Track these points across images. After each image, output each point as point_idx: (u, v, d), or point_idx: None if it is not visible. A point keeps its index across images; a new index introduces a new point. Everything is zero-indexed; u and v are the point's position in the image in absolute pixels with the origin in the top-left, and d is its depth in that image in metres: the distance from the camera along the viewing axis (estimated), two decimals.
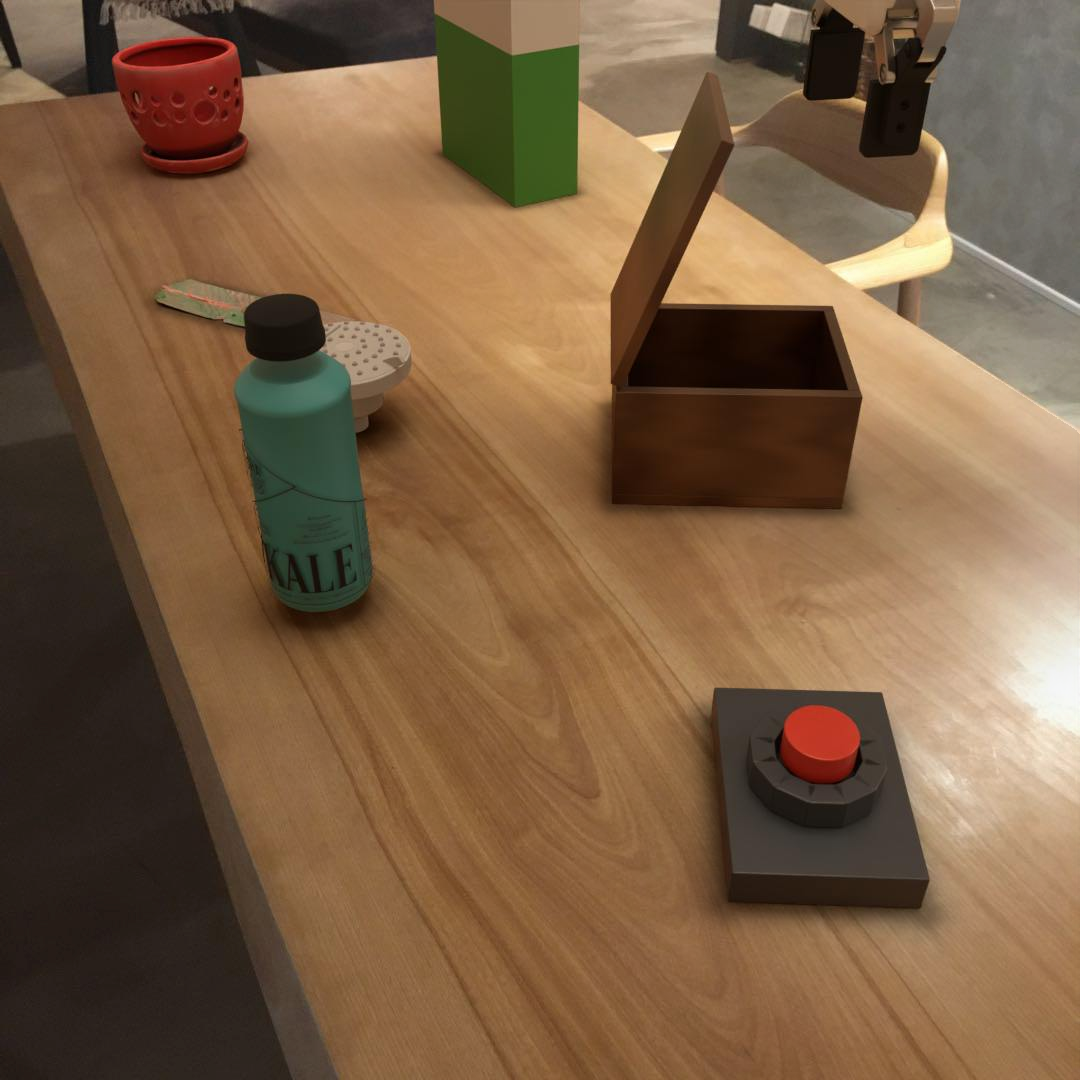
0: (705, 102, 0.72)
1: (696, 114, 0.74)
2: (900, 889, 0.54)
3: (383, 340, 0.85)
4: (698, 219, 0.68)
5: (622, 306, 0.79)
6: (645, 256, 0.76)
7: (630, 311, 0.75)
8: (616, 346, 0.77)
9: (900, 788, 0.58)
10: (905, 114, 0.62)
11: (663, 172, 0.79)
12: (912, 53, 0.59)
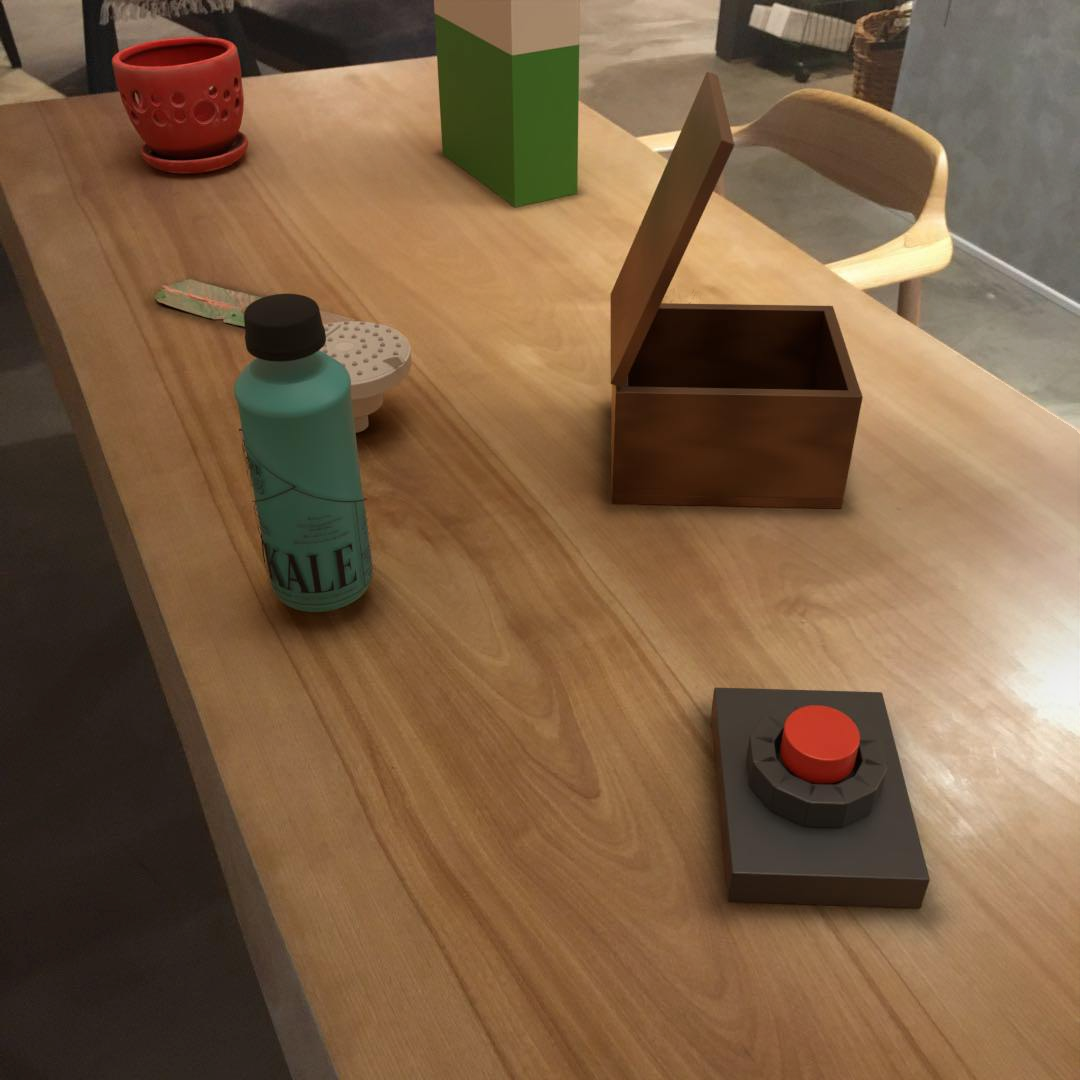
0: (705, 102, 0.72)
1: (696, 114, 0.74)
2: (900, 889, 0.54)
3: (383, 340, 0.85)
4: (698, 219, 0.68)
5: (622, 306, 0.79)
6: (645, 256, 0.76)
7: (630, 311, 0.75)
8: (616, 346, 0.77)
9: (900, 788, 0.58)
10: None
11: (663, 172, 0.79)
12: None
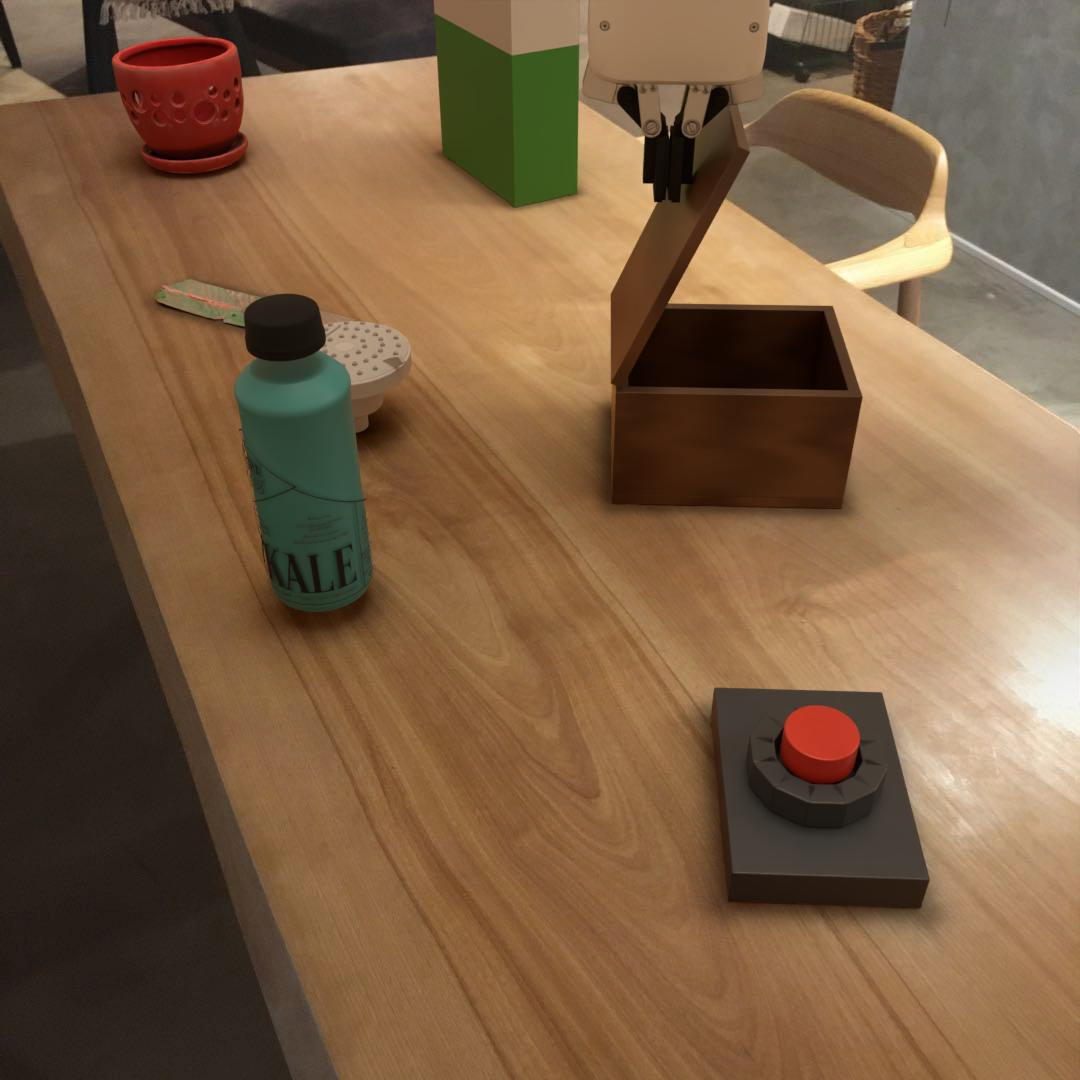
0: None
1: None
2: (900, 889, 0.54)
3: (383, 340, 0.85)
4: (709, 224, 0.68)
5: (624, 306, 0.79)
6: (650, 258, 0.76)
7: (633, 312, 0.75)
8: (617, 346, 0.77)
9: (900, 788, 0.58)
10: None
11: None
12: (725, 100, 0.69)
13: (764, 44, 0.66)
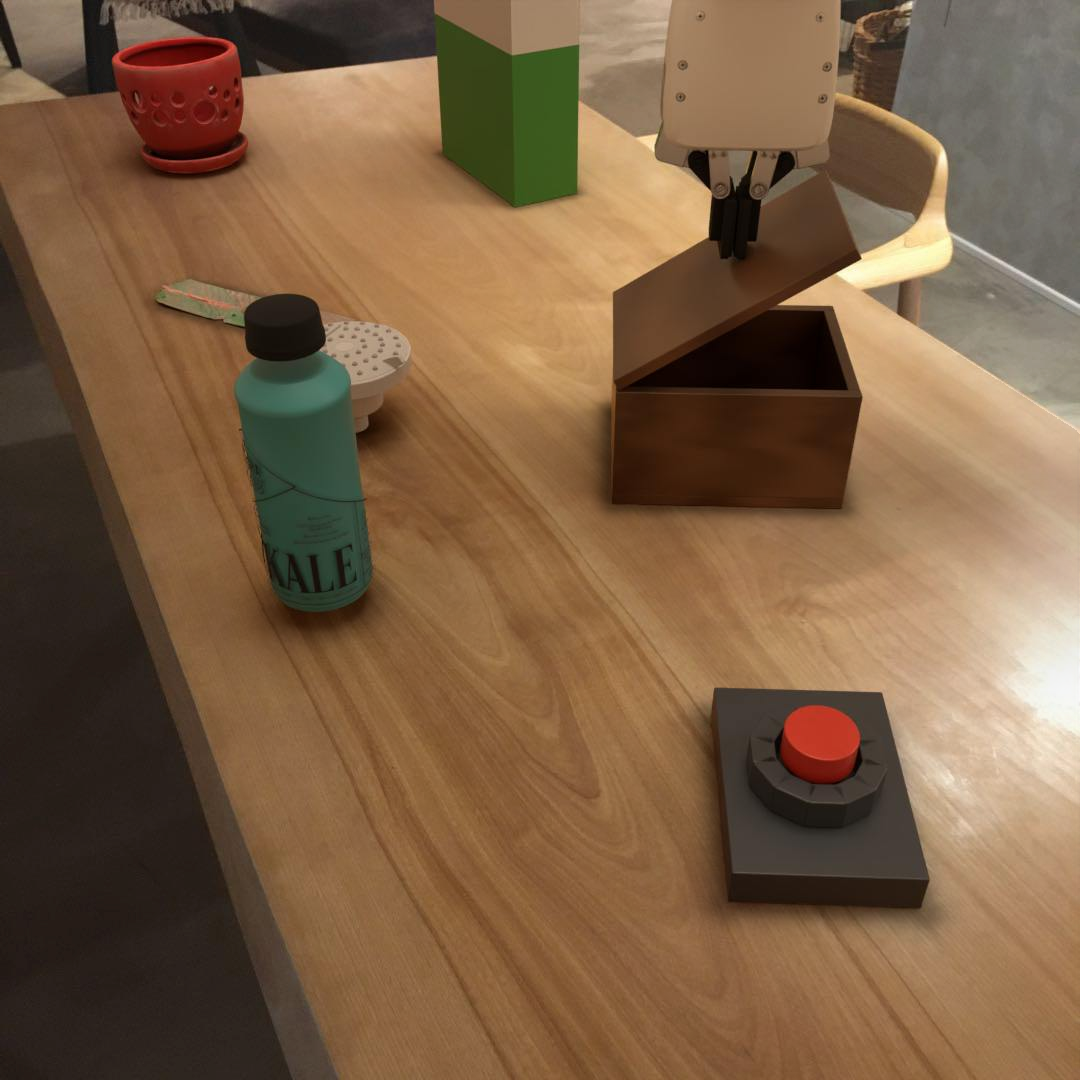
0: (822, 197, 0.76)
1: (803, 200, 0.77)
2: (900, 889, 0.54)
3: (383, 340, 0.85)
4: (789, 297, 0.70)
5: (640, 315, 0.79)
6: (692, 288, 0.77)
7: (659, 328, 0.76)
8: (626, 349, 0.77)
9: (900, 788, 0.58)
10: None
11: None
12: (791, 164, 0.72)
13: (831, 114, 0.69)
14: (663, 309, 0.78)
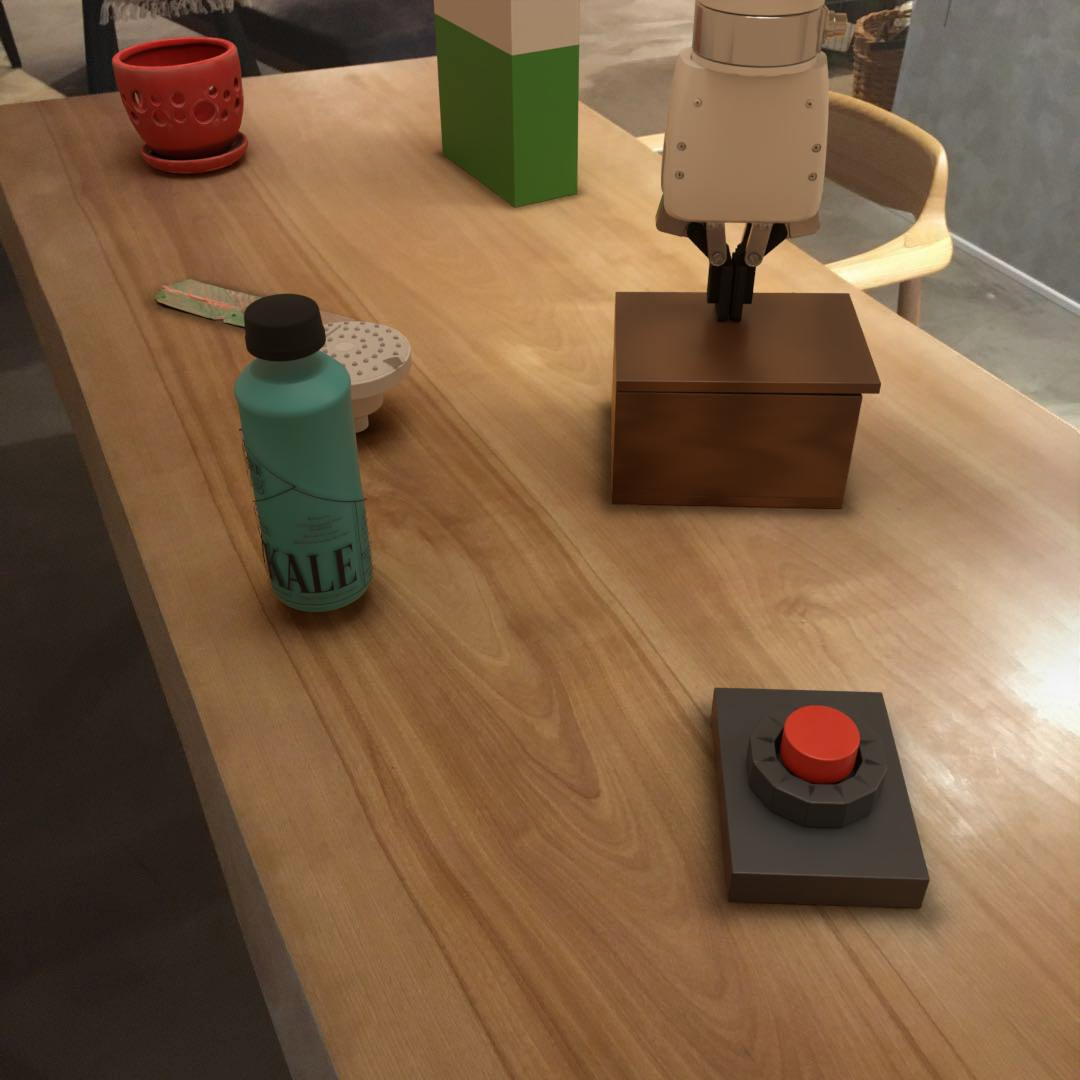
0: (846, 317, 0.81)
1: (826, 309, 0.82)
2: (900, 889, 0.54)
3: (383, 340, 0.85)
4: (805, 392, 0.74)
5: (648, 331, 0.80)
6: (707, 333, 0.79)
7: (669, 353, 0.77)
8: (632, 357, 0.77)
9: (900, 788, 0.58)
10: None
11: None
12: (784, 234, 0.77)
13: (821, 190, 0.74)
14: (674, 337, 0.79)
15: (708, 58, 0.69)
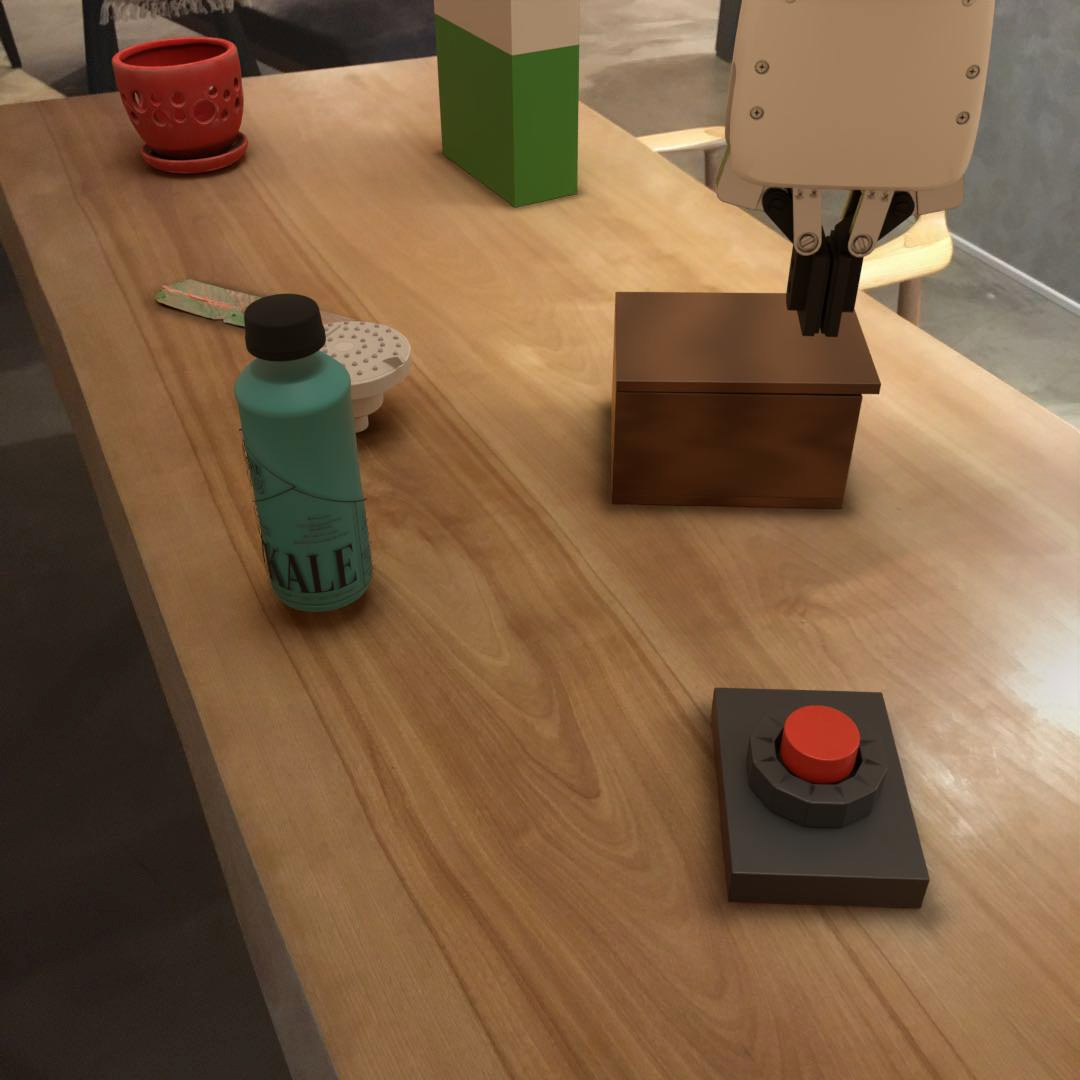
0: (846, 318, 0.81)
1: None
2: (900, 889, 0.54)
3: (383, 340, 0.85)
4: (805, 392, 0.74)
5: (648, 331, 0.80)
6: (707, 333, 0.79)
7: (669, 353, 0.77)
8: (632, 357, 0.77)
9: (900, 788, 0.58)
10: None
11: (750, 293, 0.84)
12: (909, 209, 0.51)
13: (973, 139, 0.48)
14: (674, 337, 0.79)
15: None
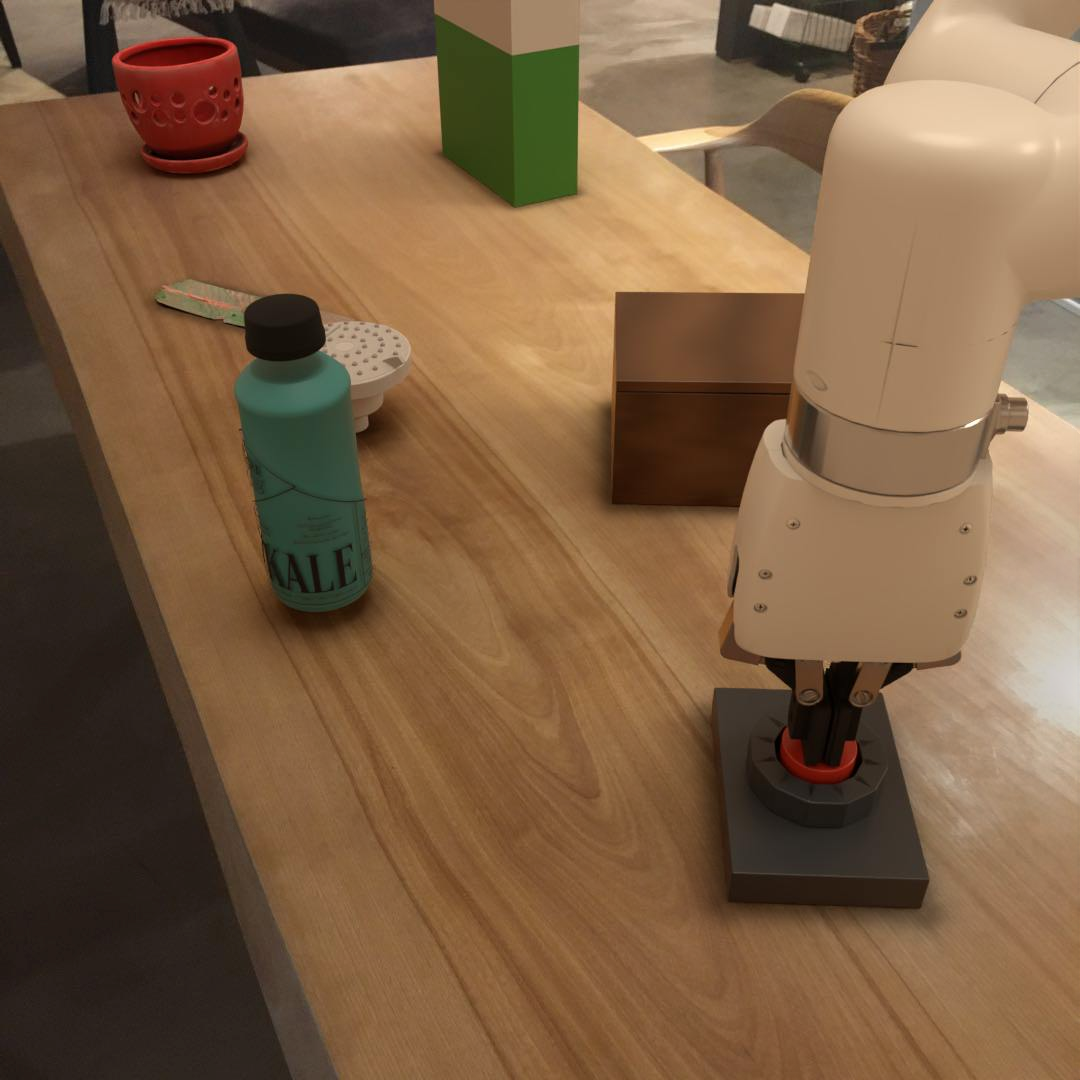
0: None
1: None
2: (900, 889, 0.54)
3: (383, 340, 0.85)
4: None
5: (648, 331, 0.80)
6: (707, 333, 0.79)
7: (669, 353, 0.77)
8: (632, 357, 0.77)
9: (900, 788, 0.58)
10: None
11: (750, 293, 0.84)
12: (908, 667, 0.53)
13: (970, 626, 0.50)
14: (674, 337, 0.79)
15: (814, 471, 0.45)
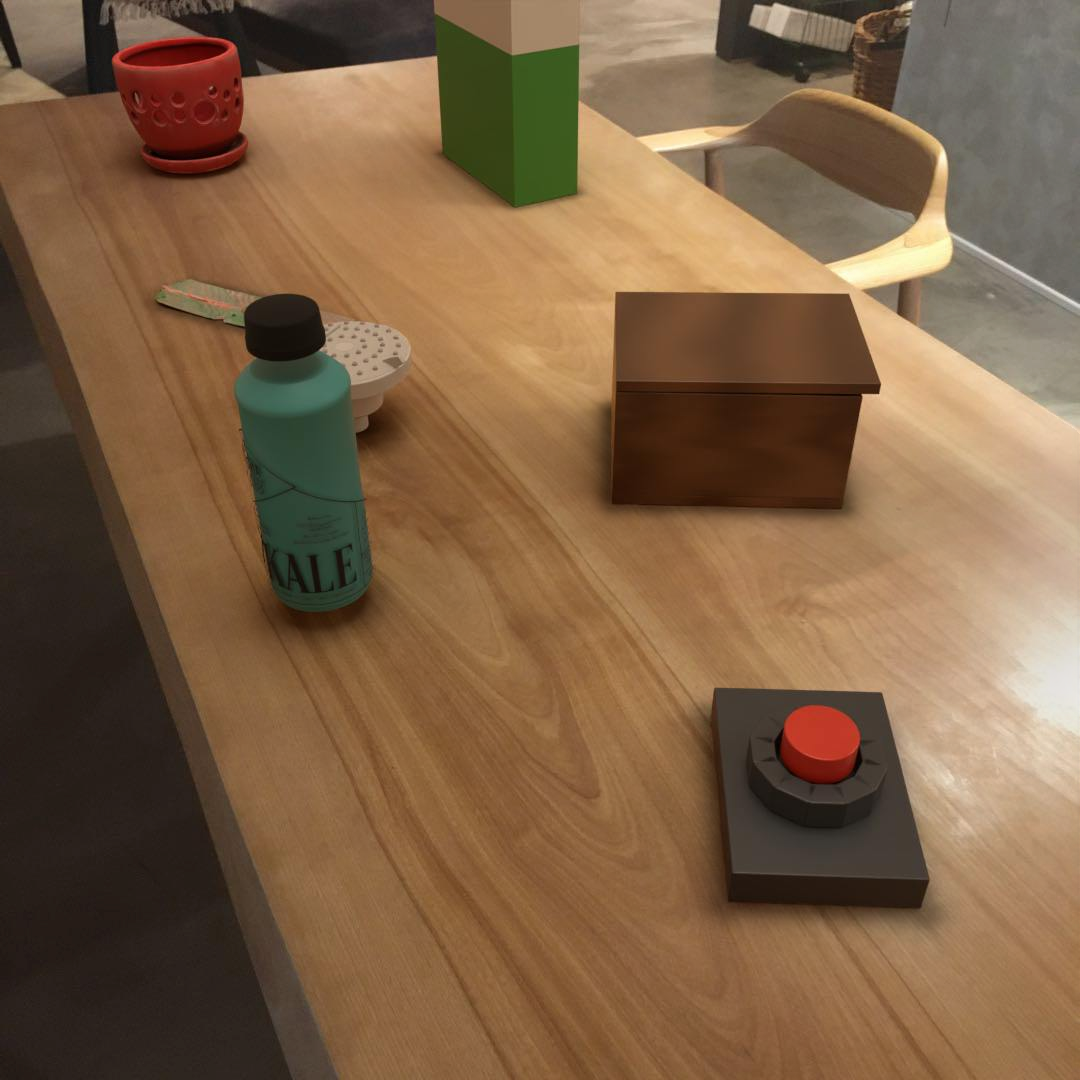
0: (846, 318, 0.81)
1: (826, 310, 0.82)
2: (900, 889, 0.54)
3: (383, 340, 0.85)
4: (805, 392, 0.74)
5: (648, 331, 0.80)
6: (707, 333, 0.79)
7: (669, 353, 0.77)
8: (632, 357, 0.77)
9: (900, 788, 0.58)
10: None
11: (750, 293, 0.84)
12: None
13: None
14: (674, 337, 0.79)
15: None
